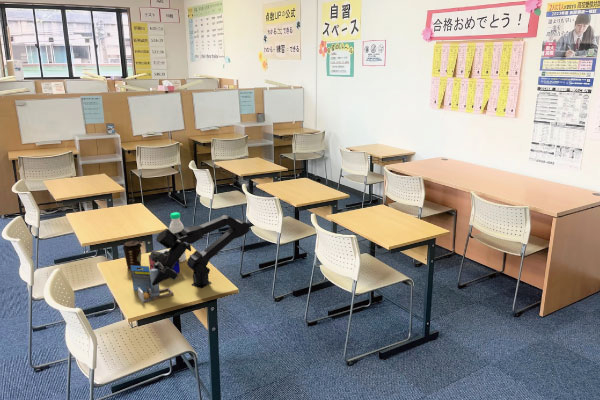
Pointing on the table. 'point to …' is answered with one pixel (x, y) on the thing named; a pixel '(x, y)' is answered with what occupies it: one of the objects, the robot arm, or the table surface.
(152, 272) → the peg
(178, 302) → the table surface
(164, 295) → the track
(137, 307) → the table surface
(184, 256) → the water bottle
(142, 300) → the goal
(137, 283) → the label tape cartridge
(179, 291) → the table surface
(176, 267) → the puzzle cube
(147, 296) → the ball
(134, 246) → the coffee cup
